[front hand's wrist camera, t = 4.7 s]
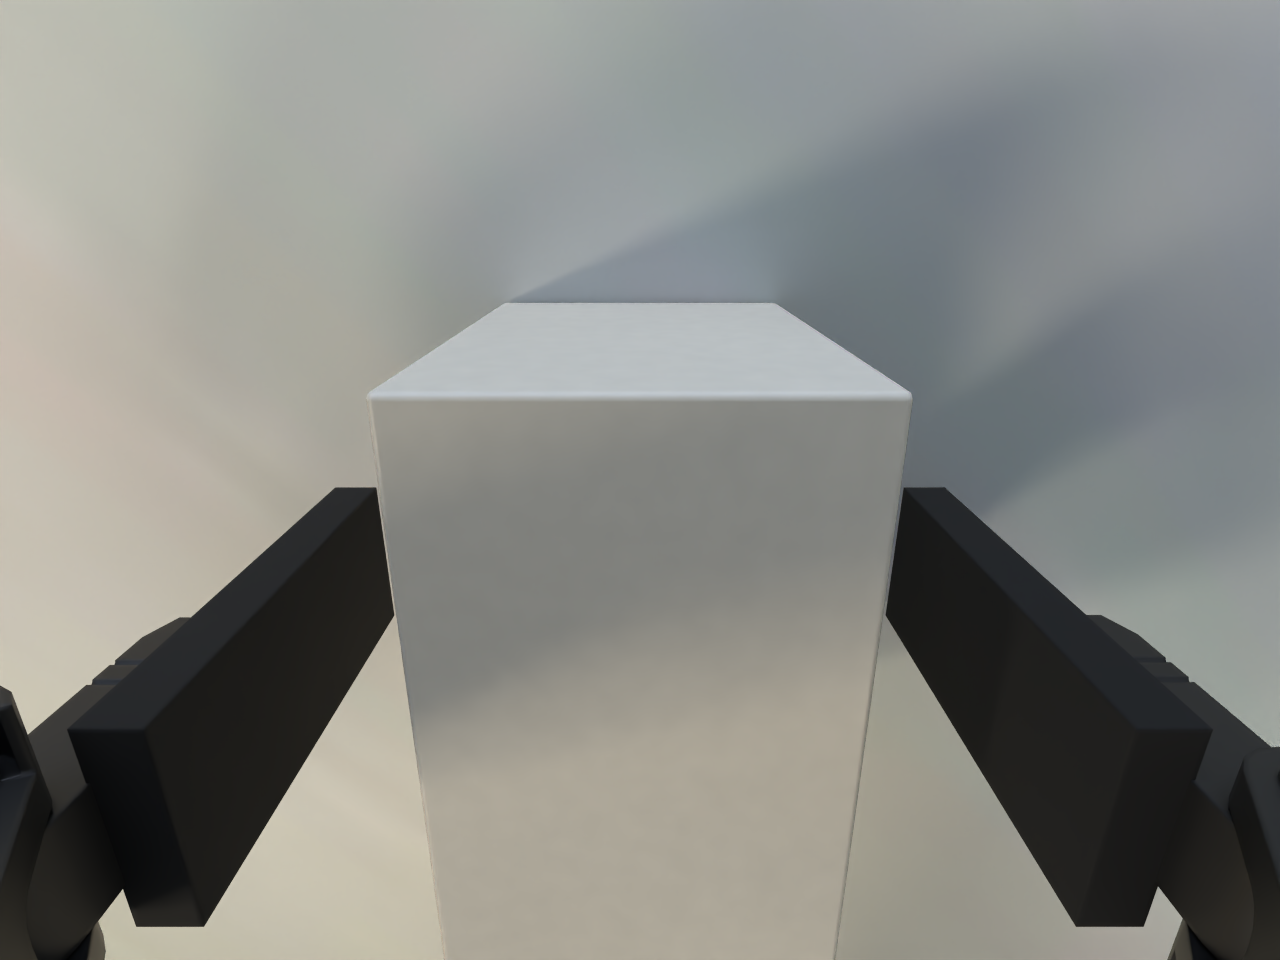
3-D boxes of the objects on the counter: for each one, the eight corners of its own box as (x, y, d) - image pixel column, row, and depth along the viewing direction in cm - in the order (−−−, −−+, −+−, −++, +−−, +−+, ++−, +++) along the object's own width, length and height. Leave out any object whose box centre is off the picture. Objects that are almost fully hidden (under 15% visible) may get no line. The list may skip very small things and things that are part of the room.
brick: (751, 699, 16) (826, 1032, 10) (528, 699, 16) (451, 1033, 10) (777, 301, 13) (918, 392, 7) (501, 302, 13) (361, 392, 7)
